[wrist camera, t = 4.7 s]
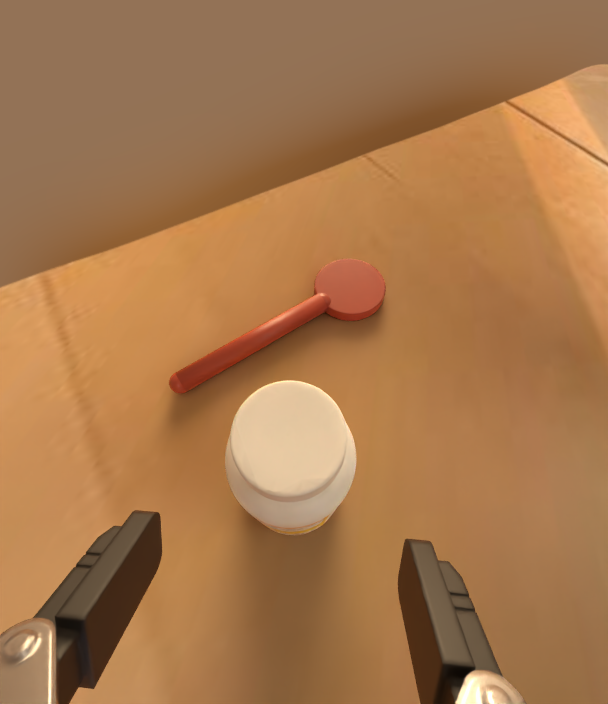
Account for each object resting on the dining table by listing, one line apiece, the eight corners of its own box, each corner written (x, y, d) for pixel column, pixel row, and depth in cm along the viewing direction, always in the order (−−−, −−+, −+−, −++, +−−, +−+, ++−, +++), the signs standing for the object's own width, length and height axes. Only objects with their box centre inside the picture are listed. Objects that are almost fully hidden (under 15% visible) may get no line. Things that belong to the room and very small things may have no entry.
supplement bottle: (291, 559, 18) (280, 567, 10) (227, 480, 20) (174, 431, 12) (361, 483, 20) (401, 437, 12) (296, 418, 22) (292, 337, 14)
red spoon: (192, 424, 22) (185, 417, 21) (157, 363, 24) (150, 353, 23) (397, 299, 27) (402, 287, 25) (354, 256, 29) (356, 243, 28)
